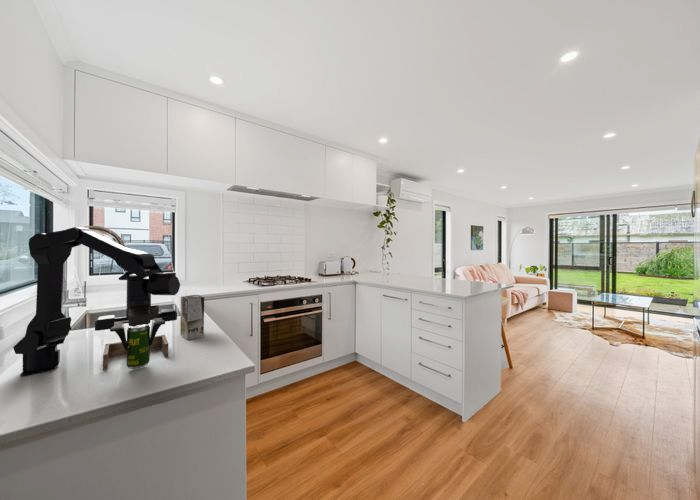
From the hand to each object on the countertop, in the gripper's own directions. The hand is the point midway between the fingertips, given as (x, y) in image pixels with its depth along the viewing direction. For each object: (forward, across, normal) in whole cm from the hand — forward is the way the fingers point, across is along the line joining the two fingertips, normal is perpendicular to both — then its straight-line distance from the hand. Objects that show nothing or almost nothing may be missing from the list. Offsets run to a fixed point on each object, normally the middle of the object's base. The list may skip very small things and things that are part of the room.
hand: (138, 347), depth 80 cm
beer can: (+6, 0, 0) cm, 6 cm away
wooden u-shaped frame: (+6, 0, +11) cm, 13 cm away
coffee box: (+7, +18, +24) cm, 31 cm away
